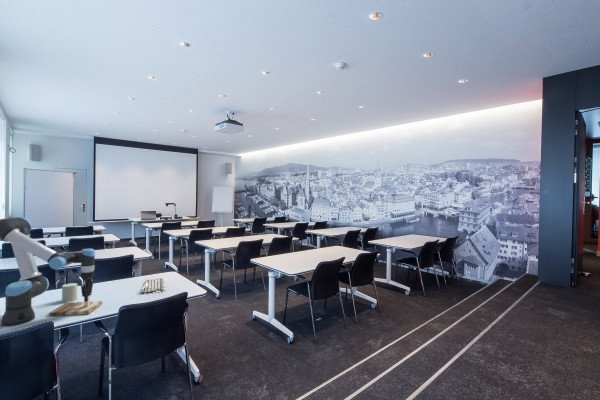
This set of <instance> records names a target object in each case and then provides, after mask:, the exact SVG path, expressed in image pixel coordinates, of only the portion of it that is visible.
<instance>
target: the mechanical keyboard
mask: <svg viewBox="0 0 600 400" xmlns="http://www.w3.org/2000/svg"><path fill="white" fill-rule="evenodd" d="M157 280H158V281H157ZM144 282H145V288H144V289H141V288H140V292H141V294H140V295H144V294H143V293H151V294H154V293H153V292H156V291H163V290H164V289H163V288H164V287H163V284H164V278H163V277H159V278H152V279H151V278H150V279H146V280H145V281H144Z"/></svg>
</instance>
